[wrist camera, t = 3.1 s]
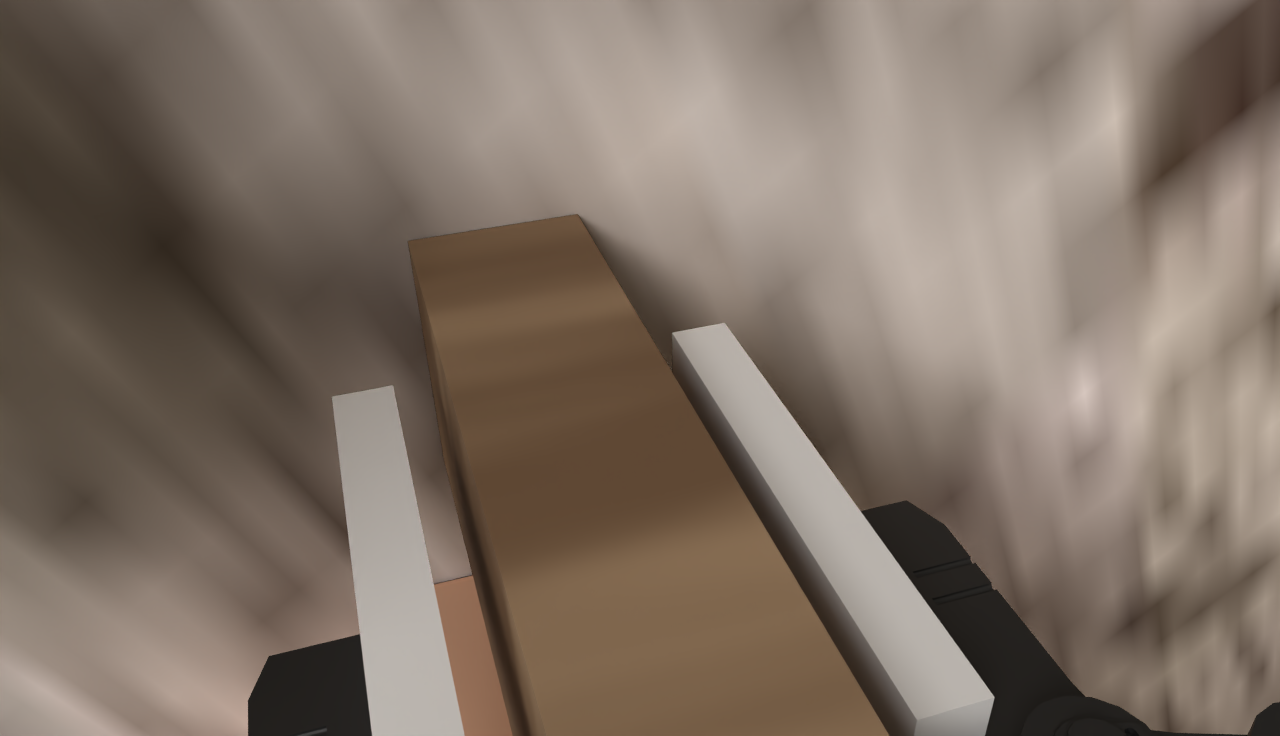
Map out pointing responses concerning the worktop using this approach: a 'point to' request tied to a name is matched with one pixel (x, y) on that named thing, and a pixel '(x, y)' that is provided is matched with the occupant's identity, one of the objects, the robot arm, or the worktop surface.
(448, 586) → the orange octagonal tray
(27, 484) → the worktop surface
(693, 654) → the wooden bar
